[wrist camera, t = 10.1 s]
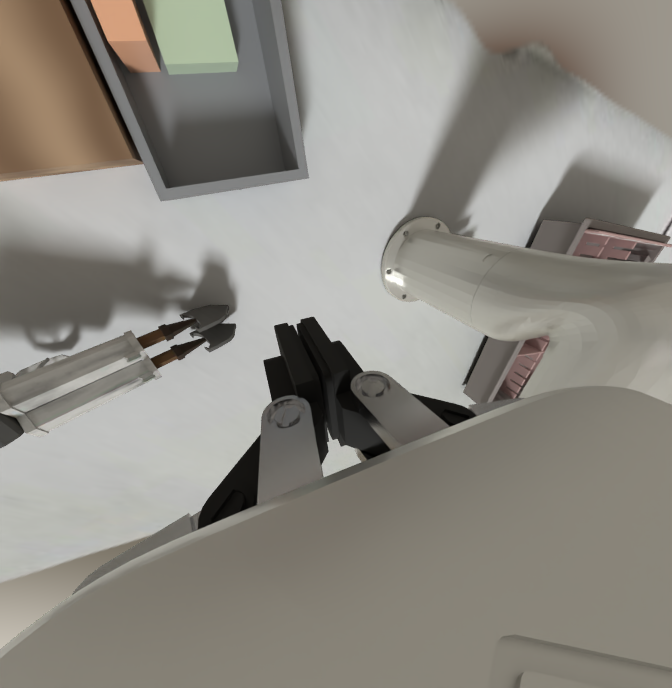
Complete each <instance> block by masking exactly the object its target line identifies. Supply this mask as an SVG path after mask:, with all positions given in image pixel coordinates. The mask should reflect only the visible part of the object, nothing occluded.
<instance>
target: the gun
mask: <svg viewBox="0 0 672 688" xmlns="http://www.w3.org/2000/svg"><path fill="white" fill-rule="evenodd" d="M228 310H229V306H228V305H209V306H205V307H201V308H197V309H194V310H191V311H188V312H186V313H183V314H181V315H180V316H181V318H182V319H183V320H184V318H192V319H190V320H186V321H181V322H177V323H173V324H169V325H165V324H164V325H161V326H159V327H158V328H159V329H158V330H155V331H153V332H151V333H148V334H146V335H143V336H141V337H138V338H136V337H135V336H134V334H133V333H132V331H131V330H130V331H128V332H125V333H124V335H123V336H120V337H118V338H115V339H113V340H110V341H108V342H105V343H103V344H100V345H97V346H95V347H92V348H90V349H87V350H85V351H82V352H80V353H77V354H75V355H72V356H70V357H69V356H65V355H59V356H56V357H53V358H50V359H49V358H46V359H45V360H43V361H41V362H39V363H36V364H34V365H32V366H30V367H27V368H25V369H23V370H21V371H19V372H18V373H17V374H16V375H14V374H13V373H11V372H8V371H7V372H5V373H2V374H0V448H2V447H4V446H6V445H7V444H9V443H11V442H12V441H14V440H15V439H17V438H18V437H20V436H21V435H22V434H23V433H24V432H25V433H27V434H31V435H34V436H38V437H42V436H44V435H46V434H48V433H49V431H51V430H53V429H55V428H57V427H59V426H61V425H63V424H65V423H67V422H69V421H71V420H73V419H75V418H77V417H79V416H81V415H83V414H85V413H87V412H89V411H91V410H93V409H95V408H97V407H99V406H101V405H103V404H105V403H107V402H109V401H111V400H113V399H115V398H117V397H119V396H121V395H123V394H125V393H127V392H129V391H131V390H133V389H135V388H137V387H139V386H141V385H143V384H145V383H147V382H149V381H151V380H152V379H154V378H155V380H156V379H158V378H160V377H162V376H161V374H160V373H159V371H158V370H157V369H158V368H160V367H162V366H164V365H166V364H168V363H170V362H172V361H174V360H176V359H178V360H181V359H183V358H185V356H186V355H187V354H188V353H190V352H191V351H193V350H194V349H196V348H197V347H199V346H200V345H201V344H203V343H204V342H206V341H207V342H208V343H210V346H209V348H207V347H205V349H206V350H207V351H209V352H211V351H213V350H215V349H217V348H219V347H221V346H223V345H224V344H226V343H228V342H230V341H231V340H232V338H233V337H234V335H235V329H236V324H221V323H220V322H222V321H223V320H224V319H225V318H226V317H227V313H228ZM196 322H198V323H199V324H200V327H199V328H197V327H195V329H196V331H193V332H191V333H190V335H191V336H192V337H193V336H200V337H202V338H201V339H198V340H194V341H191V342H187V343H184V344H181V345H177V344H176V345H174V346H172V347H170V348H171V349H170V350H168V351H166V352H164V353H162V354H160V355H157V356H155V357H153V358H151V359H150V358H149V356H148V355H147V354H146V352H145V351H144V349H145V348H147V347H149V346H152V345H154V344H156V343H159V342H161V341H163V340H165V339H166V340H167V341H169V340H171V339H174V336H176V335H177V334H179V333H180V332H182V331H183V330H185V329H187V328H188V327H190V326H191V325H193V324H194V323H196ZM193 338H194V337H193Z"/></svg>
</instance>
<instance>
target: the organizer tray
mask: <svg viewBox="0 0 672 688" xmlns="http://www.w3.org/2000/svg"><path fill="white" fill-rule="evenodd" d="M669 240H670V236H666V235H661V234H657V233H652V232H648V231H644V230H639V229H635V228H631V227H626V226H622V225H618V224H613V223H609V222H604V221H600V220H596V219H591V218H585V219H584V221H583V223H573V222H563V221H552V220H543V221H542V224H541V226H540V228H539V230H538V232H537V234H536V237H535V239H534V241H533V243H532V245H531V247H530V249H536V250H541V251H547V252H553V253H559V254H566V255H572V256H579V257H585V258H596V259H607V260H617V261H633V262H651V263H653V262H654V261H655V260H656V258H657V257H658V255H659V254H660V252H661V251H662V250H663V248H664V247H665V246H666V247H672V245H671V244H667V242H668V241H669ZM549 341H550V339H549V336H542V337H538V338H533V339H528V340H522V341H501V340H497V339H493V338H491V337H489V338H488V340H487V342H486V344H485V346H484V348H483V350H482V353H481V355H480V357H479V359H478V361H477V363H476V366H475V368H474V370H473V372H472V374H471V376H470V378H469V381H468V383H467V385H466V387H465V389H464V391H463V393H465V394H466V395H467V396H468V397H470V398H471V399H472V400H473V401H474V402H476V403H477V404H480V403H487V402H494V401H501V400H508V399H515V398H518V397H519V396H520V394H521V392H522V391H523V389H524V387H525V386H526V384H527V382H528V381H529V379H530V377H531V376H532V374H533V372H534V371H535V369H536V367H537V366H538V364H539V363H540V361H541V359H542V358H543V354H544V352H545V350H546V348H547V346H548V345H549Z"/></svg>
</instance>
